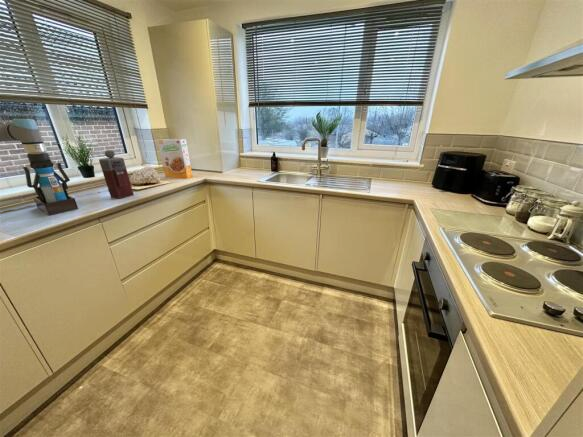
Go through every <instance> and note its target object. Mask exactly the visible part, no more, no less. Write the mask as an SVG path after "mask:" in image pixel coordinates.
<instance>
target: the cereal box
mask: <svg viewBox="0 0 583 437" xmlns="http://www.w3.org/2000/svg"><path fill="white" fill-rule="evenodd" d="M157 145H158V150H159V155H160V159H161V164H162V168H163V172H164V177H165V178H168V179H169V178H171V179H185V180H186V179H191V178H193V171H192V165H191V160H190V154H189V149H188V148H189V147H188V143H187V139H186V138H174V139H173V138H169V139H168V138H166V139H164V138H162V139H157Z"/></svg>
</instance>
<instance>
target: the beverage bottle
mask: <svg viewBox="0 0 583 437" xmlns="http://www.w3.org/2000/svg"><path fill="white" fill-rule="evenodd" d="M53 167H54V166H53ZM53 167H47V168H36V169H35V170H34V174H35V173H37V172H38V175H40V177H39V182H38V187H40V188H41V191H42V193H43V195H44V198H45V200H46V202H47V203H51V202H56V201H61V200H66V199H67V198H66V196H65V193H64V191H63V188H62V184H61V183H62V182H61V181H60V180H59V178H58V177H57V176H55V175H54V174H53V173H54V171H55V170H54V168H53ZM53 170H54V171H53Z"/></svg>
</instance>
